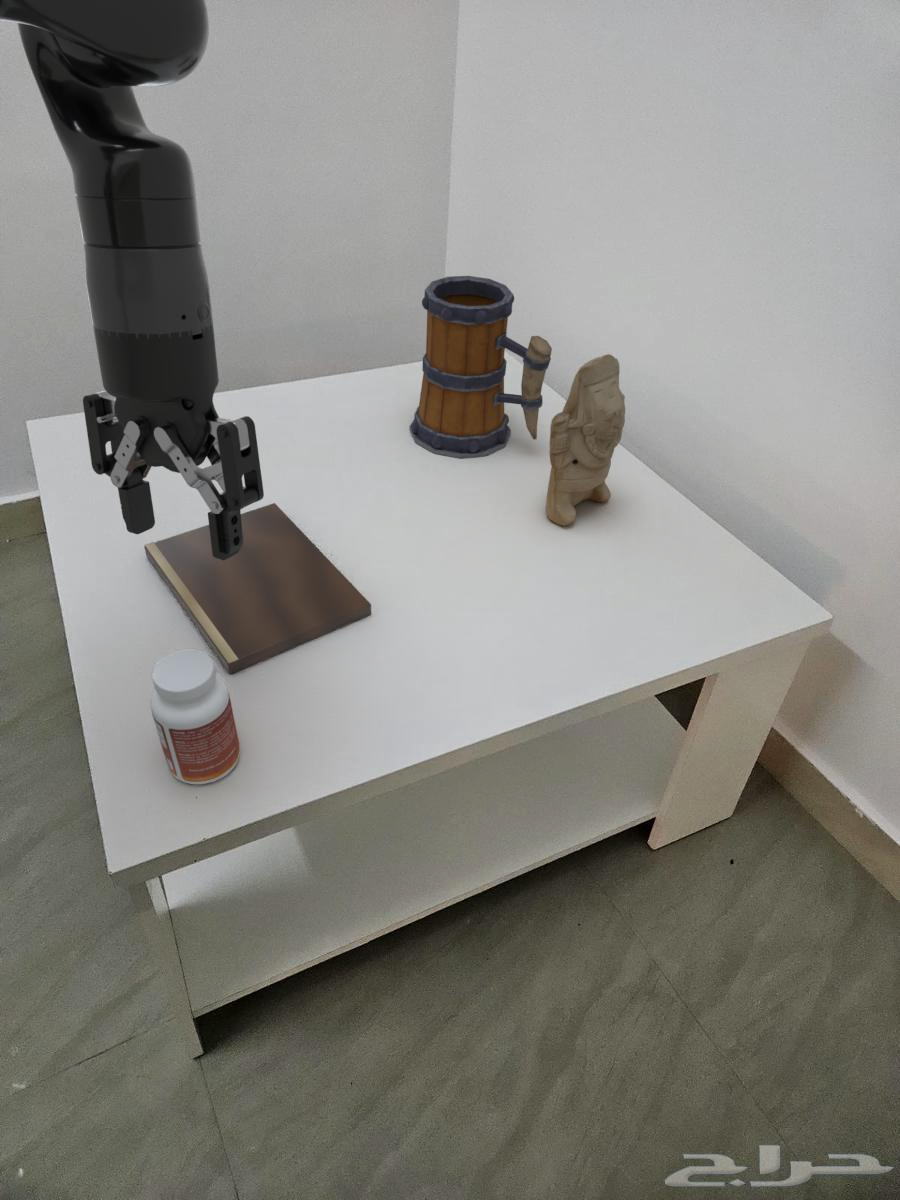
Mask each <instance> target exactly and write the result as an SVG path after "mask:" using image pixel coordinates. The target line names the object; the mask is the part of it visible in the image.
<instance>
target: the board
mask: <svg viewBox="0 0 900 1200" xmlns="http://www.w3.org/2000/svg"><path fill="white" fill-rule="evenodd" d="M241 522H242V533H243V534H242V535H243V545H242V548H240V550H239V552H238V553H237V554H235V555H234V556H232V557H230V558H228V559H226V560H220V559H216V558H214V557H213V554H212V546H211V538H210V529H209V524H206V525H204V526H200V527H196V528H194V529H192V530H188V531H185V532H182V533H179V534H176V535H173V536H170V537H166V538H164V539H161V540H158V541H152V542H148V543H145V544H144V545H143V546H144V551H145V555H146V558H147V559H148V560H149V562H150V563H151V565H152V566H153V568H154V569H155V570H156V572H157V573H158V574H159V576H160V577H161V579H162V580H163V582H164V583H165V585H167V588H168V589H169V591H170V592H171V593H172V594H173V596H174V597H175V599H176V600H177V602H178V603H179V605H180V606H181V607H182V609H183V610H184V612H185V613H186V615H187V616H188V618H189V619H190V621H192V623H193V624H194V625H195V628H196V629H197V631H198V632H199V633H200V634H201V636H202V637H203V639H204V640H205V641H206V643H207V645H208V646H209V647H210V649H211V650H212V652H213V653H214V654H215V656H216V657H217V659H218V660H219V661H220V663H221V664H222V666H223V667H224V668H225V670H226V672H227V673H228V674H229V675H233V674H234V673H237V672H239V671H242V670H244V669H247V668H249V667H251V666H254V665H255V664H258V663H260V662H262V661H265V660H268V659H270V658H272V657H275V656H277V655H279V654H282V653H285V652H286V651H289V650H291V649H294V648H295V647H299V646H300V645H303V644H305V643H307V642H309V641H312V640H315V639H317V638H319V637H322V636H324V635H326V634H329V633H331V632H334V631H336V630H338V629H341V628H343V627H346V626H347V625H350V624H351V623H355V622H357V621H359V620H361V619H364V618H367V617H369V616H371V615H372V603H371V602H370V601H369V600H368V599H367V598H366V597H365V596H364V595H363V594H362V593H361V592H360V590H358V589H357V587H356V586H355V585H353V583H352V582H351V581H350V580H349V579H348V578H347V577H346V576H345V575H344V574H343V573H342V572H341V571H340V569H338V567H336V565H335V564H333V563H332V561H331V560H330V559H329V558H328V557H327V556H326V555H325V554H324V553H323V552H322V551H321V550H320V549H319V548H318V547H317V546H316V544H315V543H314V542H313V541H312V540H311V539H310V538H309V537H308V536H307V535H306V534H305V533H304V532H303V531H302V530H301V529H300V528H299V527H298V526H297V525H296V524H295V523H294V522H293V521H292V520H291V519H290V517H289V516H288V515H287V514H286V513H285V512H284V511H283V510H282V509H281V508H280V507H279V505H277V504H276V503H275V502H274V503H270V504H267V505H263V506H261V507H258V508H255V509H252V510H249V511H246V512H243V513H241Z"/></svg>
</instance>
